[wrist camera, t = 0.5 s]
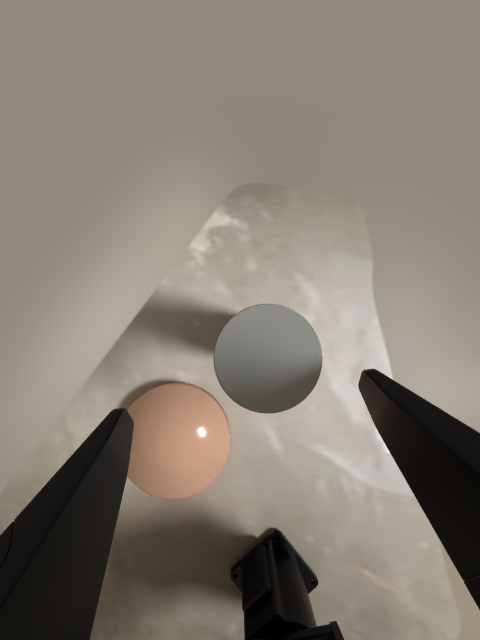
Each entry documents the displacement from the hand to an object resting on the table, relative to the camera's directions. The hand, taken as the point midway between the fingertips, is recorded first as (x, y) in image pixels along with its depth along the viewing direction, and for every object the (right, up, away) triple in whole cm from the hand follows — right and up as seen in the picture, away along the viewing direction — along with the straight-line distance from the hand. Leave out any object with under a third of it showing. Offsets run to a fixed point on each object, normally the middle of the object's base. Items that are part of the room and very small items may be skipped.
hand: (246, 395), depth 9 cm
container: (+1, +1, +16) cm, 16 cm away
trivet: (-7, -9, +15) cm, 19 cm away
